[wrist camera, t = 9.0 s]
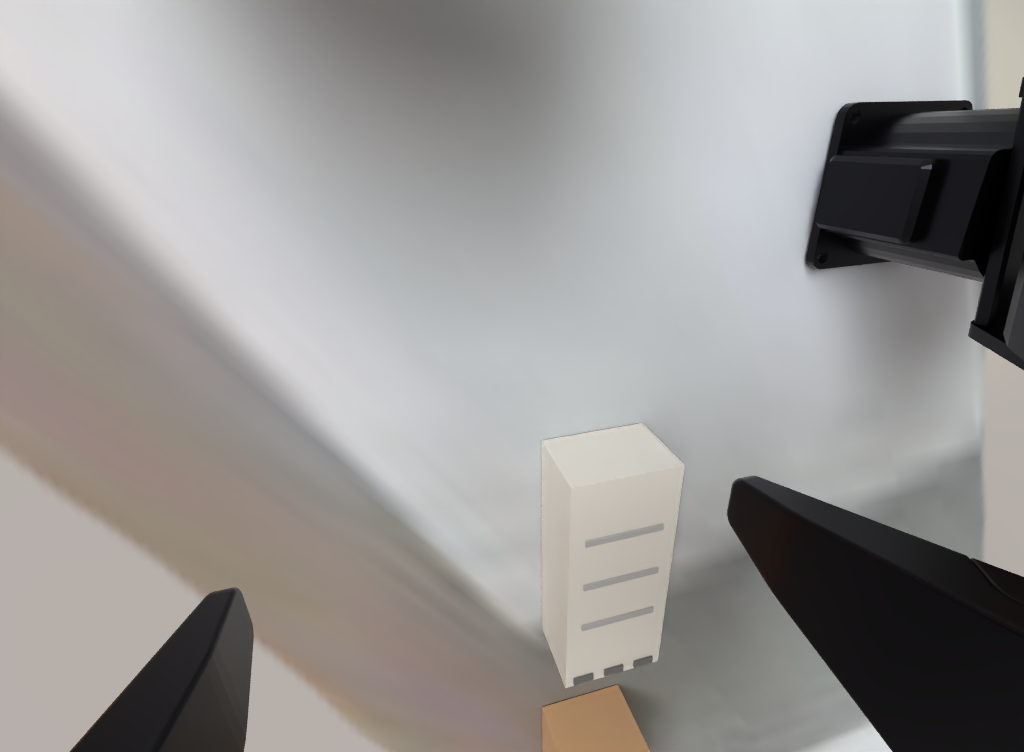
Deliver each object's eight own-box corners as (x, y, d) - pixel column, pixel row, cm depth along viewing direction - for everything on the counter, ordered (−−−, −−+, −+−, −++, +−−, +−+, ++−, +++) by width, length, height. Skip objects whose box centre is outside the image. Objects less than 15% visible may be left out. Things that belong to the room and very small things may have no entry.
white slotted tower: (642, 422, 24) (686, 467, 21) (625, 605, 30) (659, 663, 26) (541, 440, 23) (572, 490, 20) (542, 627, 28) (566, 690, 25)
